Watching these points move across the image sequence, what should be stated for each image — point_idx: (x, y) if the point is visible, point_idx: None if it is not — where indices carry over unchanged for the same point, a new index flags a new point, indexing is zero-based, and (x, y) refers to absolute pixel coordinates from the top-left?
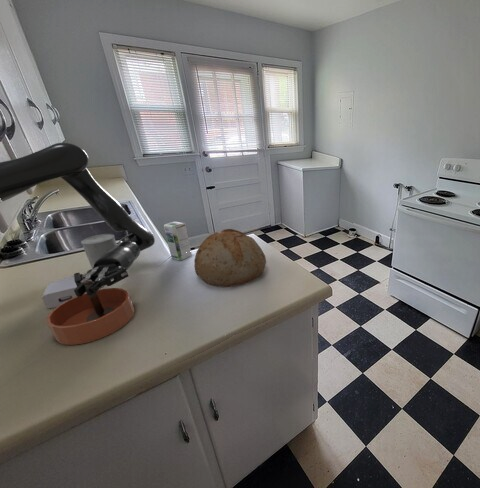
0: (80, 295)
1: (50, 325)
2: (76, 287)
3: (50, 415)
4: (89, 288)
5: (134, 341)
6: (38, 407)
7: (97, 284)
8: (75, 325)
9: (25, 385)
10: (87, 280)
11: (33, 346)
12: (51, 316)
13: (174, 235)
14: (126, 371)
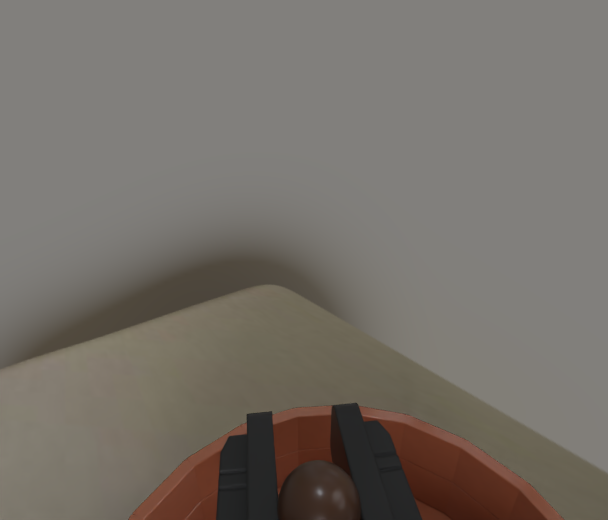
0: (333, 451)
1: (427, 423)
2: (400, 464)
3: (224, 298)
4: (248, 426)
5: (73, 477)
6: (260, 309)
7: (216, 512)
8: (295, 413)
9: (342, 347)
10: (306, 472)
11: None
12: (536, 516)
13: None
14: (92, 362)
